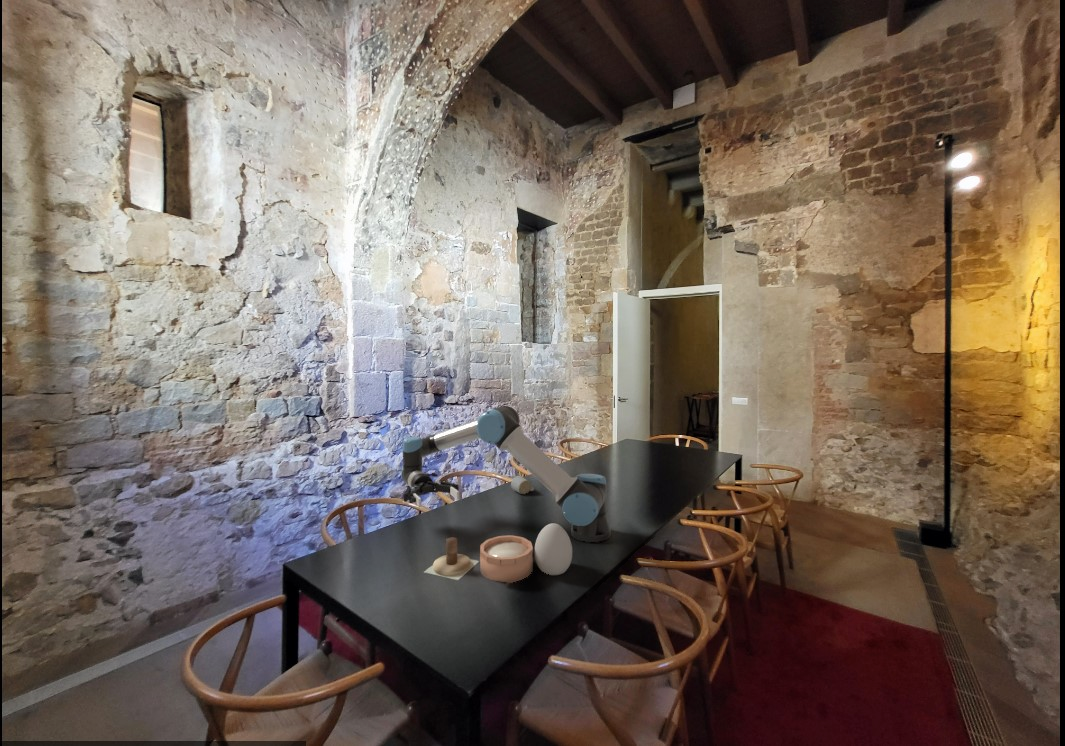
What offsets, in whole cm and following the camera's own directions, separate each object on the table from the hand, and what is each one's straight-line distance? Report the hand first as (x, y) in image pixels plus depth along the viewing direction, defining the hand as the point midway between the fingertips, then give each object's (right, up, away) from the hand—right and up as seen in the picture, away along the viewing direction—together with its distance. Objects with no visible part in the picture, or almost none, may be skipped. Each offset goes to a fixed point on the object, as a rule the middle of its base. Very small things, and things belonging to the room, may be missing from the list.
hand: (439, 499), depth 152 cm
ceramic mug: (+28, -16, +68) cm, 75 cm away
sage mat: (+6, -21, -7) cm, 23 cm away
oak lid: (+6, -20, -7) cm, 22 cm away
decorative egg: (+39, -21, -8) cm, 45 cm away
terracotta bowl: (+24, -20, -8) cm, 32 cm away
